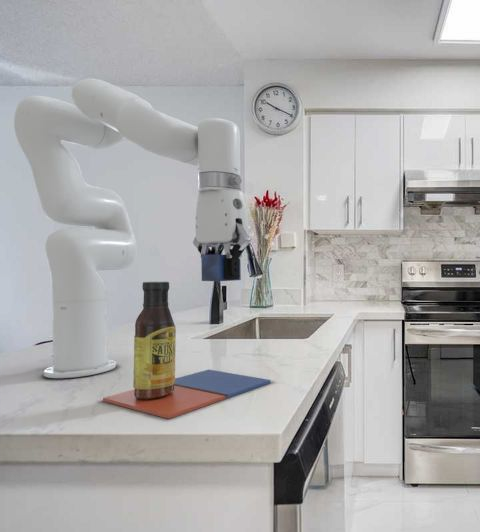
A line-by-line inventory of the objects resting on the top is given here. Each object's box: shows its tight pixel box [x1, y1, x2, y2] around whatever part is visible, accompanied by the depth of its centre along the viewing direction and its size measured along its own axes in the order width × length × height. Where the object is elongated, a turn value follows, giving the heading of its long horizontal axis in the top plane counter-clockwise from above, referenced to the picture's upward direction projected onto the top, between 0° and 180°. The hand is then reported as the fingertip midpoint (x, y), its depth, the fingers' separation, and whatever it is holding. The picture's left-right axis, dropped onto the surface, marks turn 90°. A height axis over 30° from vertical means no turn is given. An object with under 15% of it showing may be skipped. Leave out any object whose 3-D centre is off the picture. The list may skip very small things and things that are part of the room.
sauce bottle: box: [132, 281, 177, 399], centre depth 73 cm, size 6×6×20 cm
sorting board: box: [102, 369, 272, 420], centre depth 76 cm, size 18×21×1 cm
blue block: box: [200, 253, 242, 282], centre depth 81 cm, size 5×5×5 cm
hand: (221, 278), depth 81 cm, fingers closed on blue block, 5 cm apart
